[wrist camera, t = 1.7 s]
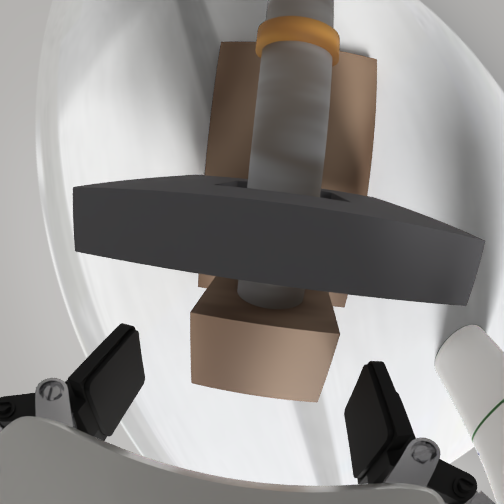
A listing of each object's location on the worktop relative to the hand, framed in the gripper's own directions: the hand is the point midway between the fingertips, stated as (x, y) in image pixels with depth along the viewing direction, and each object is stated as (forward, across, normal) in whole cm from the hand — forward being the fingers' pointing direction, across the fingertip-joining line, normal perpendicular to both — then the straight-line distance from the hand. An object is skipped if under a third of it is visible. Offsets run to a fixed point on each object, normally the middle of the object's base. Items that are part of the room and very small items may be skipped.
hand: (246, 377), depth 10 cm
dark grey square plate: (+10, -1, -6) cm, 12 cm away
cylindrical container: (+13, -23, +7) cm, 27 cm away
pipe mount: (+13, -1, -8) cm, 15 cm away
